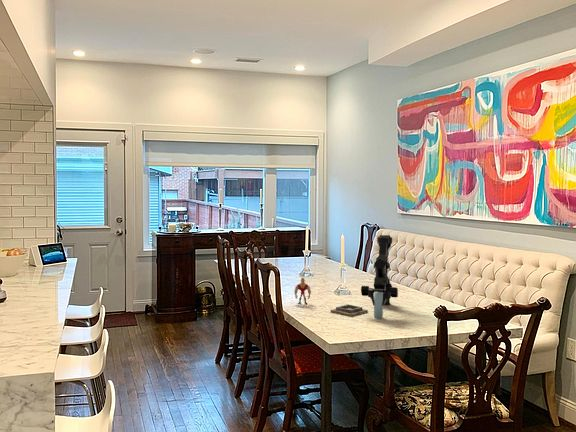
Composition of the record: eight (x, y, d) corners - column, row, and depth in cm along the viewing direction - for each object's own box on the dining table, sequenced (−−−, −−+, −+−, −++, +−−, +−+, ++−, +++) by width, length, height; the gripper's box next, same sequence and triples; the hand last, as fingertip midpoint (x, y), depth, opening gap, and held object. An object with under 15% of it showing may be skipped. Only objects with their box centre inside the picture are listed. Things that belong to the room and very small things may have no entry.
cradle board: (347, 308, 313) (347, 303, 313) (367, 312, 303) (367, 307, 303) (330, 312, 303) (330, 307, 303) (351, 316, 293) (351, 311, 293)
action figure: (294, 304, 323) (294, 278, 322) (294, 302, 326) (294, 276, 326) (310, 304, 323) (311, 278, 322) (310, 303, 326) (311, 277, 325)
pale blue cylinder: (380, 316, 295) (381, 291, 294) (384, 318, 290) (384, 292, 290) (372, 316, 294) (373, 291, 293) (375, 318, 289) (376, 293, 289)
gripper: (361, 270, 297) (358, 295, 287) (397, 271, 292) (396, 297, 282) (363, 282, 305) (360, 307, 295) (398, 284, 300) (397, 309, 290)
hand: (378, 305), depth 290 cm, fingers closed on pale blue cylinder, 4 cm apart
